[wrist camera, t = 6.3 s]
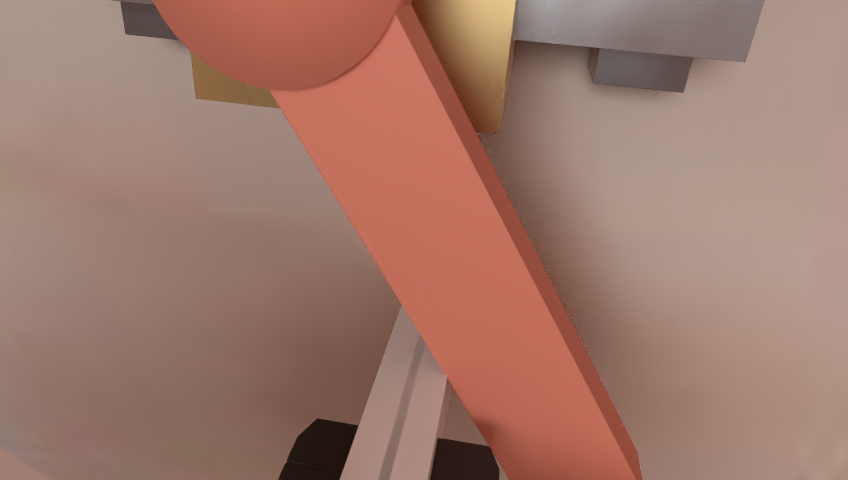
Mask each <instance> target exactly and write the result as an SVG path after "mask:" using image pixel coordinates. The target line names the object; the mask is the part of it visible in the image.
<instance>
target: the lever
mask: <svg viewBox="0 0 848 480" xmlns="http://www.w3.org/2000/svg"><path fill="white" fill-rule="evenodd" d="M152 1H153V2H154V4H155V6H156V8H157V9H158V11H159V13H160V14H161V16H162V18H163V19H164V20H165V22H166V23H167V25H168V26H169V27H170V29H171V30H172V31H173V33H174V34H175V35H176V36H177V37H178V38H179V39H180V41H181V42H182V43H183V44H184V45H185V46H186V47H187V48H188V49H189V50H190V51H191V52H193V53H194V54H195V55H196V56H197V57H198V58H199V59H201V60H202V61H203V62H205V63H206V64H208V65H209V66H210V67H212V68H213V69H215V70H217V71H218V72H220V73H222V74H224V75H225V76H227V77H229V78H232V79H234V80H236V81H239V82H241V83H244V84H247V85H251V86H254V87H258V88H263V89H269V90H270V92H271V94H272V95H273V97H274V98H275V100H276V102H277V103H278V105H279V107H280V108H281V110H282V111H283V113H284V115H285V116H286V118H287V120H288V121H289V123H290V124H291V126H292V128H293V129H294V131H295V133H296V134H297V136H298V137H299V139H300V141H301V142H302V144H303V145H304V147H305V149H306V150H307V152H308V154H309V155H310V157H311V158H312V160H313V162H314V163H315V165H316V167H317V168H318V170H319V171H320V173H321V175H322V176H323V178H324V179H325V181H326V183H327V184H328V186H329V188H330V189H331V191H332V192H333V194H334V196H335V197H336V199H337V201H338V202H339V204H340V205H341V207H342V209H343V210H344V212H345V214H346V215H347V217H348V218H349V220H350V222H351V223H352V225H353V226H354V228H355V230H356V231H357V233H358V235H359V236H360V238H361V239H362V241H363V243H364V244H365V246H366V248H367V249H368V251H369V252H370V254H371V256H372V257H373V259H374V261H375V262H376V264H377V265H378V267H379V269H380V270H381V272H382V273H383V275H384V277H385V278H386V280H387V282H388V283H389V285H390V286H391V288H392V290H393V291H394V293H395V295H396V296H397V298H398V299H399V301H400V303H401V304H402V306H403V308H404V309H405V311H406V312H407V314H408V316H409V317H410V319H411V320H412V322H413V324H414V325H415V327H416V329H417V330H418V332H419V333H420V335H421V337H422V338H423V340H424V342H425V343H426V345H427V346H428V348H429V350H430V351H431V353H432V354H433V356H434V358H435V359H436V361H437V363H438V364H439V366H440V367H441V369H442V371H443V372H444V374H445V375H448V376H447V379H448V380H449V382H450V384H451V385H452V387H453V389H454V390H455V392H456V393H457V395H458V397H459V398H460V400H461V401H462V403H463V405H464V406H465V408H466V410H467V411H468V413H469V414H470V416H471V418H472V419H473V421H474V423H475V424H476V426H477V427H478V429H479V431H480V432H481V434H482V436H483V437H484V439H485V440H486V442H487V444H488V445H489V447H490V448H491V450H492V452H493V453H494V455H495V457H496V458H497V460H498V461H499V463H500V465H501V466H502V468H503V470H504V471H505V473H506V474H507V476H508V478H509V479H510V480H642V477H641V471H640V466H639V460H638V455H637V451H636V449H635V447H634V445H633V443H632V441H631V439H630V437H629V435H628V433H627V431H626V429H625V427H624V425H623V423H622V421H621V419H620V417H619V415H618V413H617V411H616V409H615V407H614V405H613V403H612V401H611V399H610V397H609V395H608V394H607V392H606V390H605V388H604V386H603V384H602V382H601V380H600V378H599V376H598V374H597V372H596V370H595V368H594V366H593V364H592V362H591V360H590V358H589V356H588V354H587V352H586V350H585V348H584V346H583V344H582V342H581V340H580V338H579V336H578V334H577V332H576V330H575V328H574V326H573V324H572V322H571V320H570V318H569V316H568V314H567V312H566V310H565V308H564V306H563V304H562V302H561V300H560V298H559V296H558V295H557V293H556V291H555V289H554V287H553V285H552V283H551V281H550V279H549V277H548V275H547V273H546V271H545V269H544V267H543V265H542V263H541V261H540V259H539V257H538V255H537V253H536V251H535V249H534V247H533V245H532V243H531V241H530V239H529V237H528V235H527V233H526V231H525V229H524V227H523V225H522V223H521V221H520V219H519V217H518V215H517V213H516V211H515V209H514V207H513V205H512V203H511V201H510V199H509V197H508V196H507V194H506V192H505V190H504V188H503V186H502V184H501V182H500V180H499V178H498V176H497V174H496V172H495V170H494V168H493V166H492V164H491V162H490V160H489V158H488V156H487V154H486V152H485V150H484V148H483V146H482V144H481V142H480V140H479V138H478V136H477V134H476V132H475V130H474V128H473V126H472V124H471V122H470V120H469V118H468V116H467V114H466V112H465V110H464V108H463V106H462V104H461V102H460V100H459V98H458V97H457V95H456V93H455V91H454V89H453V87H452V85H451V83H450V81H449V79H448V77H447V75H446V73H445V71H444V69H443V67H442V65H441V63H440V61H439V59H438V57H437V55H436V53H435V51H434V49H433V47H432V45H431V43H430V41H429V39H428V37H427V35H426V33H425V31H424V29H423V27H422V25H421V23H420V21H419V19H418V17H417V15H416V13H415V11H414V9H413V7H412V5H411V3H412V1H413V0H152Z"/></svg>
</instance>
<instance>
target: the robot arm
mask: <svg viewBox="0 0 848 480" xmlns="http://www.w3.org/2000/svg"><path fill="white" fill-rule="evenodd" d="M447 376H448V375H445V374H444V372H443V371H442V369H441V367H440V366H439V364H438V363H437V361H436V359H435V358H434V356H433V354H432V353H431V351H430V350H429V348H428V346H427V345H426V343H425V342H424V340H423V338H422V337H421V335H420V333H419V332H418V330H417V329H416V327H415V325H414V324H413V322H412V320H411V319H410V317H409V316H408V314H407V312H406V311H405V309H404V308H403V306H402V304H401V307H400V310H399V313H398V316H397V319H396V321H395V324H394V327H393V330H392V333H391V336H390V338H389V341H388V344H387V347H386V350H385V353H384V356H383V358H382V361H381V364H380V367H379V370H378V373H377V375H376V378H375V381H374V384H373V387H372V390H371V392H370V395H369V398H368V401H367V404H366V407H365V409H364V412H363V415H362V418H361V421H360V424H359V426H358V425H352V424H346V423H340V422H335V421H329V420H323V419H316V420H315V421H314V422H313V423H312V424H311V425H310V426H309V427H308V428H307V429H305V430H304V431H303V432H302V433H301V434H300V435H299V436H298V437H297V439H296V442H295V444H294V446H293V448H292V450H291V452H290V455H289V457H288V459H287V463H286V464H285V465H284V467H283V470H282V472H281V474H280V476H279V480H499V471H500V470H499V468H498V465H497V463H496V460H495V458H494V455H493V453H492V451H491V448H490V447H489V446H483V445H477V444H471V443H465V442H460V441H454V440H448V439H443V435H444V430H445V424H446V418H447V413H448V407H449V401H450V394H451V386H452V385H451V384H450V382H449V380H448V379H447Z"/></svg>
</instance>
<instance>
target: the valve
mask: <svg viewBox="0 0 848 480" xmlns="http://www.w3.org/2000/svg"><path fill="white" fill-rule="evenodd" d="M114 1H120V2H121V8H122V15H123V21H124V27H125V34H128V35H137V36H147V37H156V38H166V39H176V40H180V39H179V38H178V37H177V36H176V35H175V34H174V33H173V31H172V30H171V29H170V27H169V26H168V25H167V23H166V22H165V20H164V19H163V18H162V16H161V14H160V13H159V11H158V9H157V8H156V6H155V4H154V2H153V1H152V0H114ZM763 3H764V0H413V1H412V3H411V5H412V7H413V9H414V11H415V13H416V15H417V17H418V19H419V21H420V23H421V25H422V27H423V29H424V31H425V33H426V35H427V37H428V39H429V41H430V43H431V45H432V47H433V49H434V51H435V53H436V55H437V57H438V59H439V61H440V63H441V65H442V67H443V69H444V71H445V73H446V75H447V77H448V79H449V81H450V83H451V85H452V87H453V89H454V91H455V93H456V95H457V97H458V98H459V100H460V102H461V104H462V106H463V108H464V110H465V112H466V114H467V116H468V118H469V120H470V122H471V124H472V126H473V128H474V130H475V131H479V132H487V133H496V134H499V130H500V125H501V120H502V115H503V111H504V106H505V101H506V96H507V92H508V87H509V82H510V77H511V73H512V68H513V60H514V53H515V45H516V40H523V41H533V42H543V43H553V44H563V45H574V46H584V47H591V51H590V57H589V62H588V68H589V71H590V74H591V77H592V80H593V83H595V84H605V85H614V86H624V87H634V88H643V89H653V90H662V91H672V92H681V93H683V92H684V88H685V84H686V81H687V77H688V73H689V70H690V66H691V62H692V58H693V57H696V58H707V59H717V60H727V61H737V62H746V58H747V55H748V52H749V49H750V45H751V42H752V39H753V36H754V32H755V29H756V26H757V23H758V19H759V16H760V13H761V10H762V6H763ZM191 58H192V67H193V76H194V85H195V94H196V99H205V100H214V101H222V102H231V103H239V104H248V105H256V106H265V107H273V108H280V107H279V105H278V103H277V102H276V100H275V98H274V97H273V95H272V94H271V92H270V90H269V89H263V88H258V87H254V86H251V85H247V84H244V83H241V82H239V81H236V80H234V79H232V78H229V77H227V76H225V75H224V74H222V73H220V72H218V71H217V70H215V69H213V68H212V67H210V66H209V65H208V64H206V63H205V62H203V61H202V60H201V59H199V58H198V57H197V56H196V55H195V54H194V53H193V52H191Z"/></svg>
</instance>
